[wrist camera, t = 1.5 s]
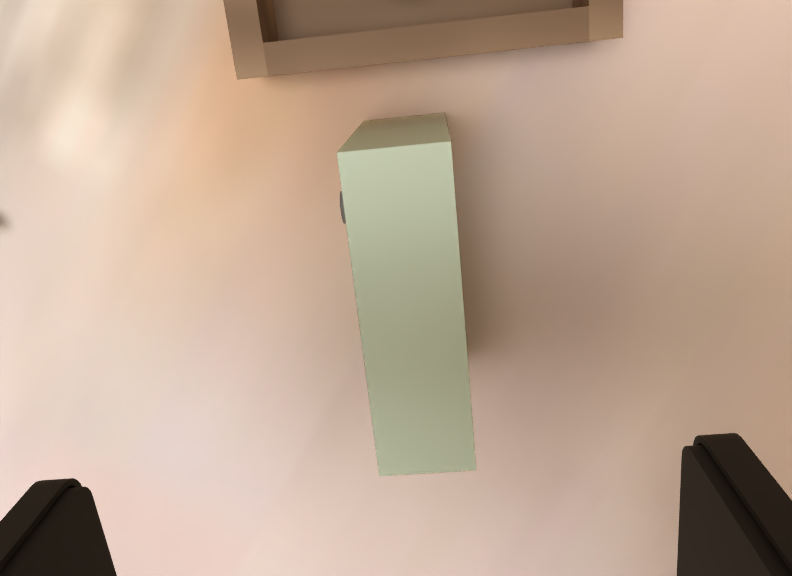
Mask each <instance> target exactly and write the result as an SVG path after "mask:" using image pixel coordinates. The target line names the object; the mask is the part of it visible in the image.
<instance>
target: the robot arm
mask: <svg viewBox="0 0 792 576" xmlns="http://www.w3.org/2000/svg"><path fill="white" fill-rule="evenodd" d="M0 576H117V575H116V572H115V568H114V565H113V562H112V558H111V555H110V552H109V549H108V545H107V542H106V539H105V535H104V532H103V529H102V525H101V522H100V519H99V516H98V512H97V509H96V506H95V502H94V499H93V496H92V493H91V491H90V490H89V489H88V488H87V487H82V486H81V484H80V483H79V481H78V480H76V479H73V478H71V479H57V480H42V481H38V482H36V483H34V484H33V485H32V486H31V487H30V488H29V489H28V490H27V492H26V493H25V494H24V495H23V496H22V497H21V498H20V500H19V501H18V502H17V503H16V504H15V505H14V506H13V508H12V509H11V510H10V511H9V512H8V513H7V514H6V516H5V517H4V518H3V519H2V520H1V521H0ZM677 576H792V500H791V499H790V498H789V497H788V495H787V494H786V493H785V492H784V490H783V489H782V488H781V486H780V485H779V484H778V483H777V481H776V480H775V479H774V478H773V476H772V475H771V474H770V473H769V471H768V470H767V469H766V468H765V466H764V465H763V464H762V463H761V461H760V460H759V459H758V458H757V456H756V455H755V454H754V453H753V451H752V450H751V449H750V447H749V446H748V445H747V444H746V442H745V441H744V440H743V439H742V437H740V436H739V435H738V434H736V433H728V434H714V435H699V436H697V437H695V440H694V443H693V446H685V447H684V448H683V451H682V463H681V488H680V512H679V536H678V560H677Z"/></svg>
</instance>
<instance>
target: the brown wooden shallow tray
mask: <svg viewBox="0 0 792 576" xmlns="http://www.w3.org/2000/svg"><path fill="white" fill-rule="evenodd" d="M224 6H225V12H226V18H227V24H228V29H229V35H230V41H231V47H232V53H233V58H234V64H235V70H236V76H237V80H239V79H248V78H257V77H266V76H275V75H284V74H294V73H303V72H312V71H321V70H330V69H339V68H349V67H358V66H367V65H376V64H385V63H394V62H404V61H413V60H422V59H431V58H440V57H449V56H459V55H468V54H477V53H486V52H495V51H504V50H514V49H523V48H532V47H541V46H550V45H559V44H569V43H578V42H587V41H596V40H605V39H615V38H623V0H224Z"/></svg>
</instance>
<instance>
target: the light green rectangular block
mask: <svg viewBox="0 0 792 576" xmlns="http://www.w3.org/2000/svg"><path fill="white" fill-rule="evenodd" d="M337 158H338V166H339V174H340V181H341V189H342V191H341V192H340V208H341V215H342V220H343V223H344V224H346V227H347V234H348V242H349V250H350V257H351V265H352V272H353V280H354V288H355V295H356V303H357V310H358V318H359V326H360V333H361V341H362V348H363V356H364V364H365V371H366V379H367V386H368V394H369V402H370V409H371V417H372V424H373V432H374V440H375V447H376V455H377V462H378V470H379V476H392V475H409V474H425V473H441V472H457V471H473V470H476V459H475V446H474V433H473V420H472V407H471V394H470V381H469V368H468V355H467V342H466V330H465V317H464V304H463V291H462V278H461V265H460V252H459V239H458V226H457V213H456V200H455V187H454V174H453V161H452V148H451V139H450V135H449V130H448V126H447V121H446V116H445V113H436V114H427V115H417V116H407V117H398V118H388V119H378V120H368V121H363V123H362V124H361V125H360V126H359V127H358V128H357V130H356V131H355V132H354V133H353V134H352V135H351V137H350V138H349V139H348V140H347V141H346V142H345V144H344V145H343V146H342V147H341V148H340V149H339V151H338V152H337Z"/></svg>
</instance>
